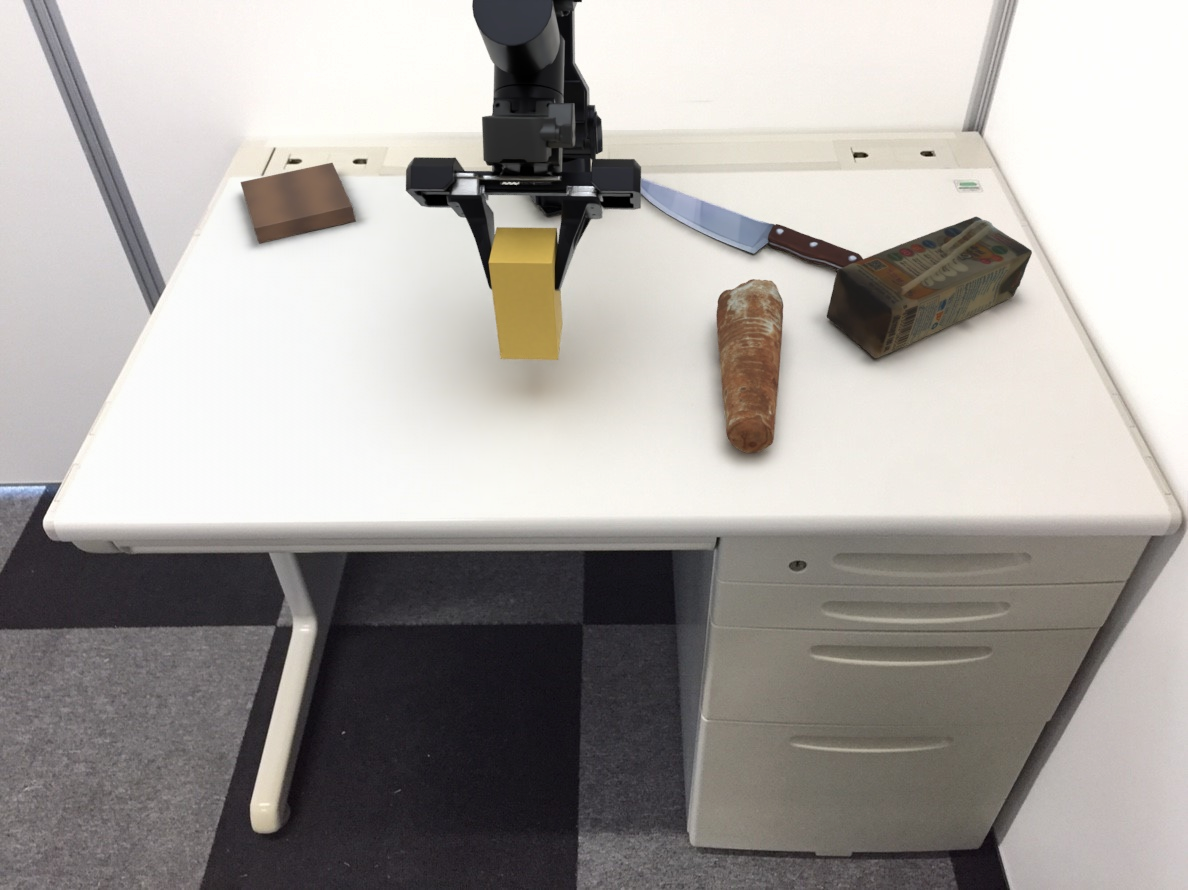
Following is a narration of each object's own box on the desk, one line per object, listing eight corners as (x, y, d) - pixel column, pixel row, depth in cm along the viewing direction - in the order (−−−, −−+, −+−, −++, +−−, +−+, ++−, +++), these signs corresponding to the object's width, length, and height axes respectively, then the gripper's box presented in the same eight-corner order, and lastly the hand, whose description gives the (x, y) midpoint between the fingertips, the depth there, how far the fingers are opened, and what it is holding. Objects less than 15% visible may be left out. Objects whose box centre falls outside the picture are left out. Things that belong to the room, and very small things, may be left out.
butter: (507, 322, 83) (496, 227, 75) (562, 323, 82) (556, 227, 75) (500, 359, 79) (488, 262, 72) (558, 360, 79) (551, 263, 72)
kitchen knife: (844, 288, 94) (848, 272, 93) (610, 200, 109) (610, 185, 107) (866, 269, 97) (869, 254, 95) (634, 185, 111) (634, 171, 110)
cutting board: (336, 177, 113) (332, 162, 111) (355, 221, 106) (352, 206, 104) (245, 196, 110) (240, 181, 109) (258, 243, 103) (253, 228, 101)
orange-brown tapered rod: (779, 324, 91) (787, 277, 87) (777, 463, 78) (786, 416, 74) (715, 319, 92) (720, 273, 88) (702, 456, 78) (707, 409, 74)
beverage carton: (1019, 300, 93) (1040, 244, 88) (876, 365, 86) (890, 309, 82) (960, 261, 98) (977, 207, 93) (820, 321, 91) (831, 265, 86)
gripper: (388, 58, 67) (384, 271, 68) (643, 58, 66) (637, 275, 67) (424, 110, 78) (420, 293, 79) (643, 111, 77) (638, 296, 78)
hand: (524, 289), depth 75 cm, fingers closed on butter, 5 cm apart
